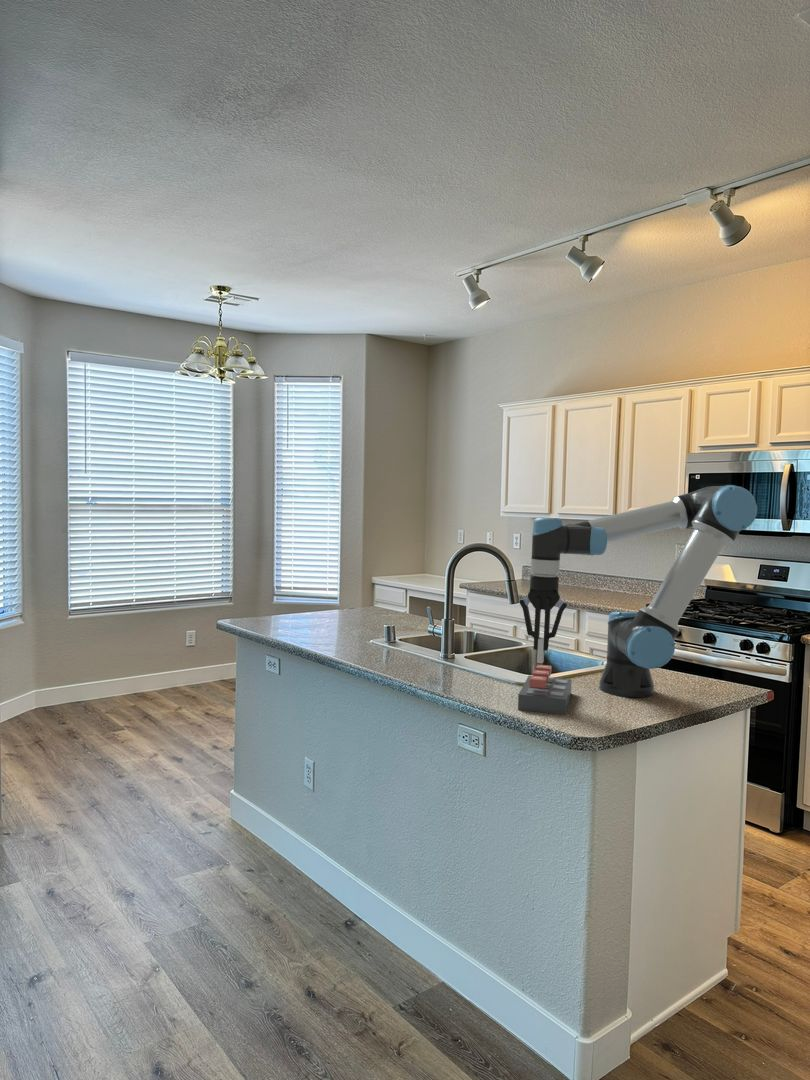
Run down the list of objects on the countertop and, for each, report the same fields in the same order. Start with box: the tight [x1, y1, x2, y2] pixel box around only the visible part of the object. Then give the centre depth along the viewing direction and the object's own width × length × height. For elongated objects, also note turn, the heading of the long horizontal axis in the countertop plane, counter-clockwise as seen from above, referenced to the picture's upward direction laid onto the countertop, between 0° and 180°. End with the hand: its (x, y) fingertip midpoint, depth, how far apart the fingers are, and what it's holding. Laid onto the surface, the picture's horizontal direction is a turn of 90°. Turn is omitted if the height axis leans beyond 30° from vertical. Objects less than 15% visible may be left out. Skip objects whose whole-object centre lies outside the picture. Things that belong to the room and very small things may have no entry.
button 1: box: [535, 664, 553, 677], centre depth 208 cm, size 4×4×2 cm
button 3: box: [529, 675, 547, 688], centre depth 195 cm, size 4×4×2 cm
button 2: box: [532, 669, 550, 682], centre depth 201 cm, size 4×4×2 cm
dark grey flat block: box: [517, 675, 573, 715], centre depth 203 cm, size 12×25×4 cm, turn 164°
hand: (540, 662), depth 201 cm, fingers closed
